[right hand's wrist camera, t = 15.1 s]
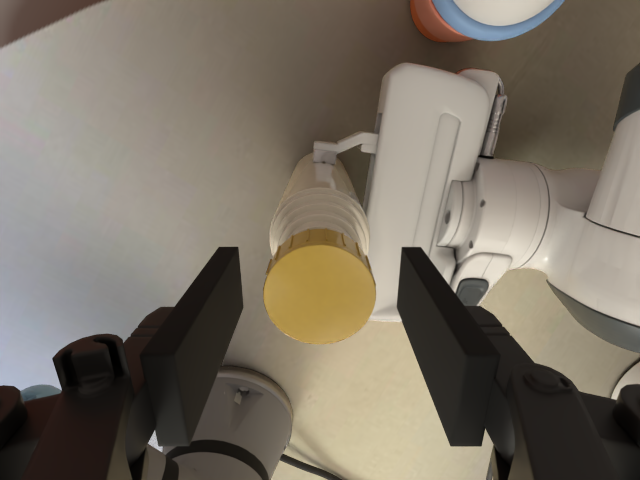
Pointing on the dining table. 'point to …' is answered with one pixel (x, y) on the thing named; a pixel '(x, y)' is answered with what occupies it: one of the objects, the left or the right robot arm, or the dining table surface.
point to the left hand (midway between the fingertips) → (308, 194)
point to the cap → (319, 287)
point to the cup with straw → (479, 18)
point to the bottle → (319, 204)
